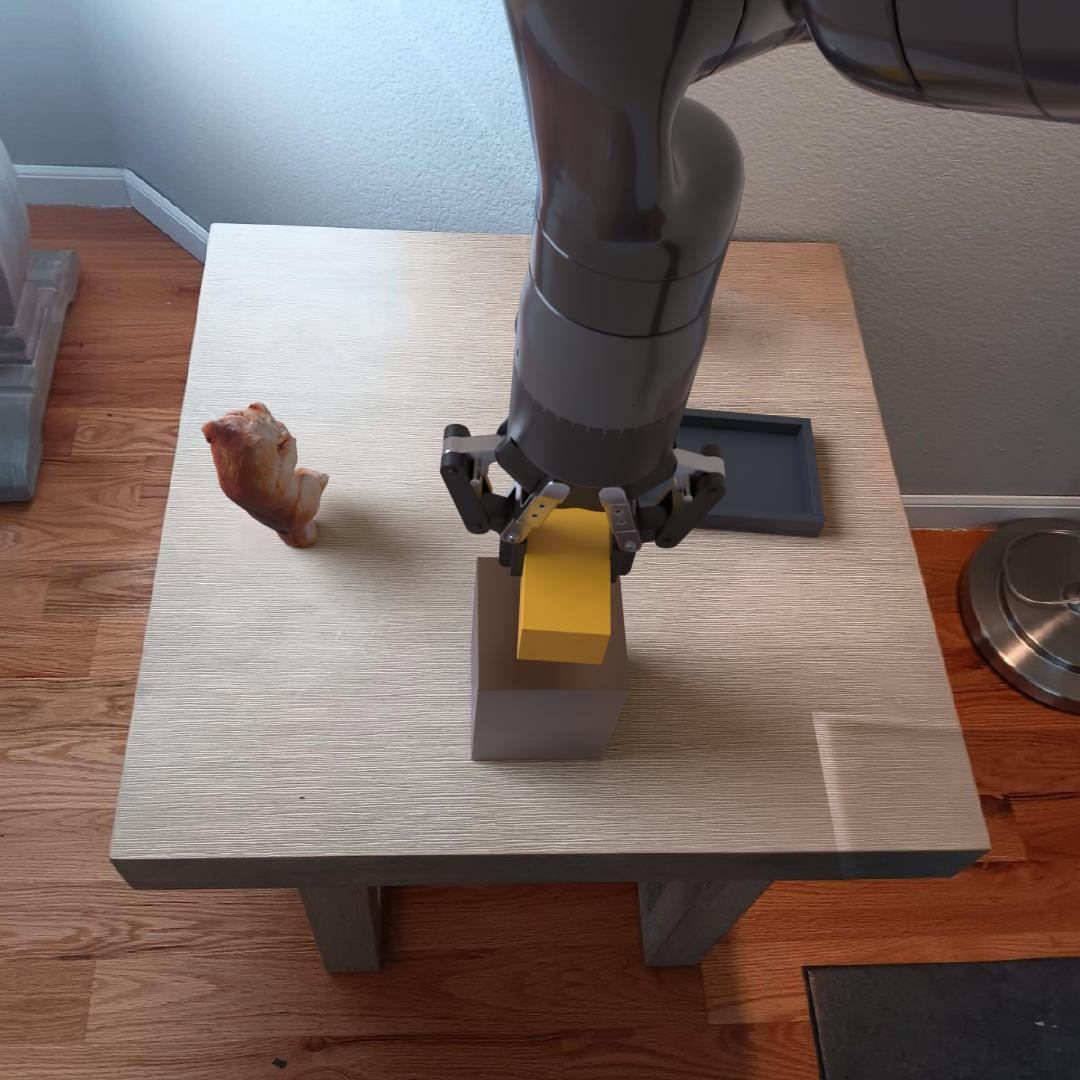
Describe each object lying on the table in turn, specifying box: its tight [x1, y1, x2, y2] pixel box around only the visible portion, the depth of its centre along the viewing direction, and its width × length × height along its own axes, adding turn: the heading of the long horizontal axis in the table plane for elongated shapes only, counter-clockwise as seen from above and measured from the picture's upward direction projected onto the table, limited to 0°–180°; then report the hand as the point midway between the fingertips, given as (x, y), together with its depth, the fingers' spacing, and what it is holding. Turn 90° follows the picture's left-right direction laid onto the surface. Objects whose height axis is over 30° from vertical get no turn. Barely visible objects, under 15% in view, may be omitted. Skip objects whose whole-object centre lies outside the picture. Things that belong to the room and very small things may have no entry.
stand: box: [470, 556, 631, 761], centre depth 66 cm, size 9×9×12 cm
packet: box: [517, 508, 611, 664], centre depth 55 cm, size 11×4×4 cm, turn 178°
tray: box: [639, 407, 826, 538], centre depth 82 cm, size 11×17×2 cm, turn 88°
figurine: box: [200, 401, 330, 549], centre depth 70 cm, size 6×8×15 cm
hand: (563, 564), depth 56 cm, fingers closed on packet, 4 cm apart
